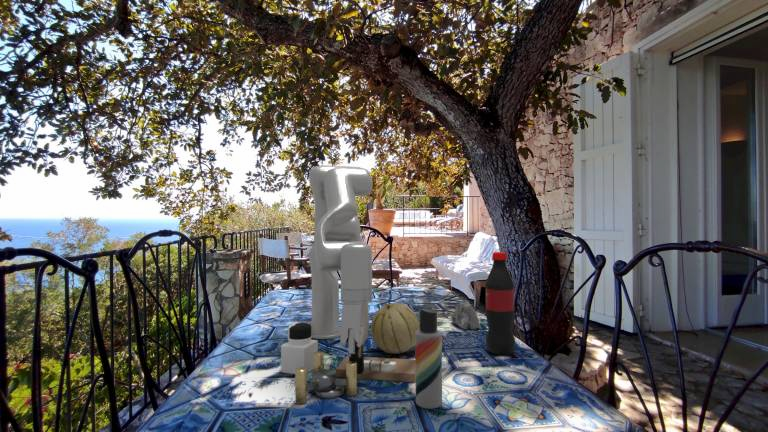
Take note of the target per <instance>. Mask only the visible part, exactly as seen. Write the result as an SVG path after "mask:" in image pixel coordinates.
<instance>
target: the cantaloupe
mask: <svg viewBox="0 0 768 432" xmlns="http://www.w3.org/2000/svg"><path fill="white" fill-rule="evenodd" d="M370 323H371V324H370V333H371V337H372V341H373V342H374V343H375V345H376V346H377V347H378V348H379V349H380V350H381V351H383V352H385V353H388V354H393V355H394V354H395V355H397V354H399V355H400V354H402V353H406V352H407V351H409V350H411V348H413V347H414V346H415V332H416V331H418V330H420V319H418V316H417V314H416V313H415V312H414V310H412V309H411V308H410V307H409V306H407V305H406V304H402V303H398V302H392V303H388V304H385V305H384V306H382V307H380V308H379V309H378V310H376V312H375V313H374V314H373V318H372V319H371V322H370Z"/></svg>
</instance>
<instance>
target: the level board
mask: <svg viewBox="0 0 768 432" xmlns="http://www.w3.org/2000/svg"><path fill="white" fill-rule="evenodd" d="M347 362H349V355H346V356H345V357H344V359H343V360H342V361H341V362H340V363H339V365H337V366H336V368H335V372H336V378H340V379H346V363H347ZM359 379H360V380H374V381H386V382H387V381H388V382H389V381H390V382H403V383H404V382H405V383H415V359H405V358H388V357H386V358H385V357H372V356H364V371H363V373H362V374H357V380H359Z"/></svg>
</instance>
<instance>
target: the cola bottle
mask: <svg viewBox="0 0 768 432" xmlns="http://www.w3.org/2000/svg"><path fill="white" fill-rule="evenodd" d="M491 260H492V261H493V263H492V267H491V270H490V272H489V274H488V276H487V278H486V282H485V285H484V286H485V287H484V288H485V316H486V322H487V333H486V336H485V346H486V349H487V350H488V352H489V353H491V354H493V355H496V356H509V355H511V354H513V353H514V351H515V348H516V338H515V336H514V333H513V326H514V323H515V322H514V321H515V315H516V314H515V313H516V312H515V310H516V309H515V283H514V281H513V278H512V276H511V274H510V272H509V270H508V267H507V263H506V261H508V259H507V253H506V252H505V251H504V252H503V251H495V252H492V259H491Z"/></svg>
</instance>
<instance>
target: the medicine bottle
mask: <svg viewBox="0 0 768 432" xmlns="http://www.w3.org/2000/svg"><path fill="white" fill-rule="evenodd" d="M317 351H319V341H318V339H312V338H311V325H310V324H308V323H301V322H295V323H292V324H290V325H289V326H288V328H287V341H286V342H285V343H283V344H282V345H281V346H280V372H281V373H282V374H283V373H284V374H289V375H290V374H291V375H295V370H296V369H297V368H302V367H303V368H307V374H309V373H310V372H312V371H314V352H317Z"/></svg>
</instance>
